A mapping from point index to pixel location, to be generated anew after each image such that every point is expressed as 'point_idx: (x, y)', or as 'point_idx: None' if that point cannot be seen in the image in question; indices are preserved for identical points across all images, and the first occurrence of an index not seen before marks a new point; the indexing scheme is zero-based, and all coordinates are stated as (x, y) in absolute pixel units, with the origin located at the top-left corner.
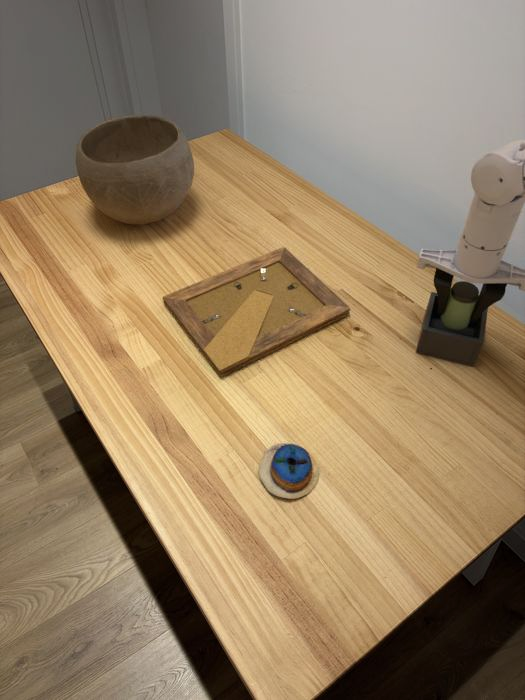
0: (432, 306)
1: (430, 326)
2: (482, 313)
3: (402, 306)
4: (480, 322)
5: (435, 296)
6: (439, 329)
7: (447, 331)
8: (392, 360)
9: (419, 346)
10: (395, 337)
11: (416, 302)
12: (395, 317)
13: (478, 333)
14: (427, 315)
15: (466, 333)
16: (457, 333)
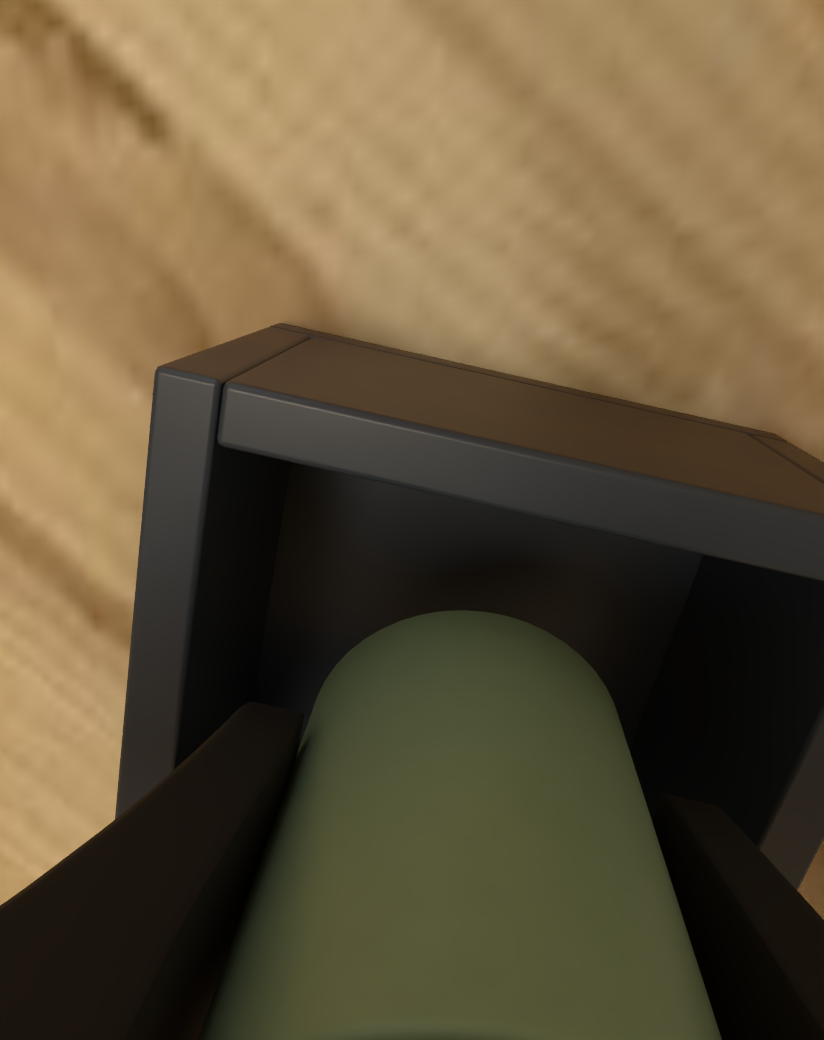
0: (181, 656)
1: (317, 507)
2: (817, 720)
3: (64, 215)
4: (752, 799)
5: (223, 443)
6: (394, 538)
7: (463, 556)
8: (69, 808)
9: None
10: (58, 610)
11: (196, 127)
12: (23, 382)
13: None
14: (130, 800)
15: (632, 563)
16: (551, 566)
